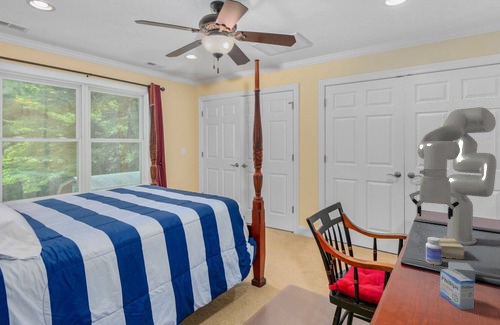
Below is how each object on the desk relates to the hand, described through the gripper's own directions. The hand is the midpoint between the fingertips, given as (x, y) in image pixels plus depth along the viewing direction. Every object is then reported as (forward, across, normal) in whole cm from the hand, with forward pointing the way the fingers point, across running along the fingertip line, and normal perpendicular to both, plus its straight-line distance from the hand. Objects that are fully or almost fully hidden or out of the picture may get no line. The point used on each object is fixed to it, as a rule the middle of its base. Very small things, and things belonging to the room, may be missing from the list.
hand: (434, 216), depth 110 cm
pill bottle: (+19, 0, 0) cm, 19 cm away
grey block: (+19, +8, -9) cm, 22 cm away
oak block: (+18, +4, +12) cm, 22 cm away
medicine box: (+19, +5, -28) cm, 34 cm away
